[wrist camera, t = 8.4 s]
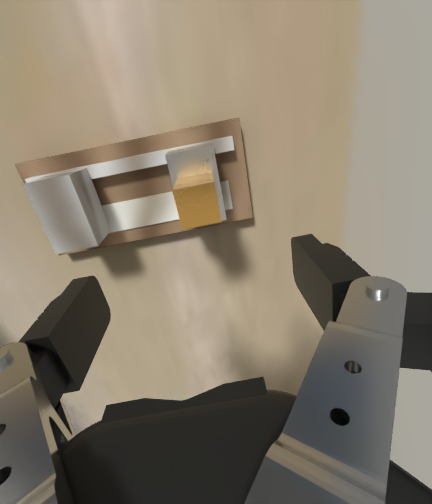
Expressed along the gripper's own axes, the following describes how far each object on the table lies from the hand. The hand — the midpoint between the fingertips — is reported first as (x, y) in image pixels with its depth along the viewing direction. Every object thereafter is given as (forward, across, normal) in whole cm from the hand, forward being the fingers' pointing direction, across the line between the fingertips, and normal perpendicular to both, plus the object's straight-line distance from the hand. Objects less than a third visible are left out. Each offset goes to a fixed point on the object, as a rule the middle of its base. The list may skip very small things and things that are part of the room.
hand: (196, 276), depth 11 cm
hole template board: (+20, +6, 0) cm, 21 cm away
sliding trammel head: (+18, 0, 0) cm, 18 cm away
